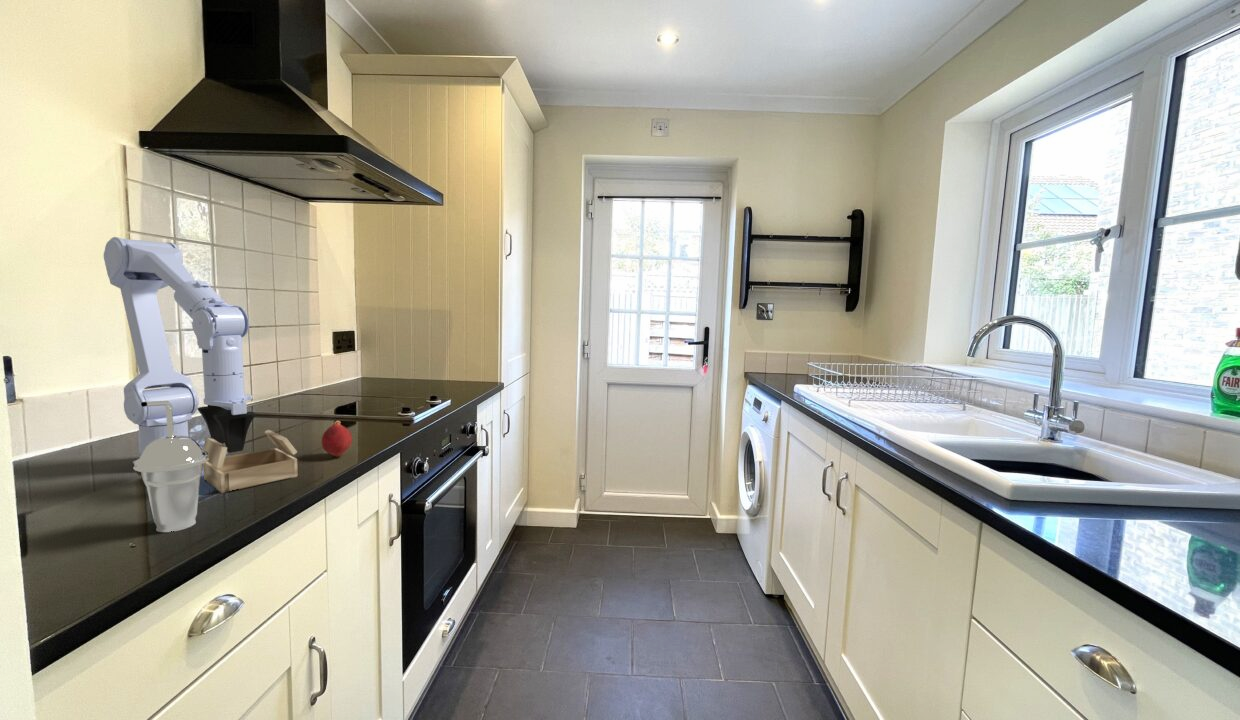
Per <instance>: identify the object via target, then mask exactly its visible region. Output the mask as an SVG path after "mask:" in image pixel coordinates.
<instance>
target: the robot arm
mask: <svg viewBox="0 0 1240 720" xmlns="http://www.w3.org/2000/svg"><path fill="white" fill-rule="evenodd" d="M103 260H104V265H105V268H106V274H107V277H108V280H109V284H110V285H112V286H114V287H115V288H118V289H119V290H120V294H121V297H122V302H123V307H124V311H125V316H126V320H127V324H128V328H129V333H130V337H131V341H132V345H133V350H134V353H135V354H134V355H135V359H136V365H137V367H138V372H139V374H137V376H135V377H133V379H132V380H130V381H129V382H128V383H126V385H125V386H124V387H123V397H124V398H123V399H124V400H123V410H124V413H125V415H126V418H127V419H128V420H129V421H130V422H132V423H133V424H134V425H138V431H137V440H138V441H137V443H138V453H139V454H138V455H139V458H138V459H140V457H141V455H142V453H143V451H144V449H145V448H146V447H147V446H148V445H149V444H150V443H151V442H153V441H154V440H156V439H159V438H161V437H164V436H168V435H167V418H166V407H165V405H163V406H147V407H143V406H141V403H142V402H146V401H169V402H170V403H171V405H172V413H173V430H174V435H182V436H187V437H189V422H188V420H192V416H193V415H195V414H196V412H197V411H198V412H199V414H200V415H201V416H202V418H203V420H204V421H205V423H206V426H207V429H208V433H209V436H210V437H211V438H212V439H214V440H216V441H218V442H219V443H221V444H224V446H226V447H227V451H226V452H227V453H230V454H231V453H236V452H237V453H238V452H243V450H244V448H245V447H244V446H245V444H246V438H247V434H248V431H249V428H250V425H251V423H252V422H253V419H255V416H256V412H254V411H248V410H247V401H248V400H249V401H250V400H253V395H252V394H249V393H248V394H247V393H246V394H245V377H244V357H243V339H242V338H244V337H246V336H247V334H248V333H249V327H250V321H249V317H248V313H247V312H246V310H244V308H243V307H242V306H240V305H233V304H229V303H227V302H226V301H225V300H224V299H223V298H222V297H221V296H220V295H219V294H218V293H217V292H216V291H215V290H214V289H213V288H212V287H211V286H210V284H209V283H208V282H207V281H202V280H196V279H195V278H194V276H192V274H191V273H190V272H189V270H188V269H187V268H186V266H185V265H184V257H183V252H182V250H181V249H180V248H179V247H178V245H176V244H175V243H174V242H159V241H150V240H149V241H148V240H140V239H139V240H137V239H129V238H122V237H116V236H113V237H111V238H110V239H109V240H108V241H107V242H106V244H105V246H104V251H103ZM167 287H170V288H171V289H172V290H173V291H174V293H173V299H174V301H175V302H176V304H178V305H179V307H180V308H181V309H182V310H183V311H184V312H185V313H186V314H187V315H188V316H189V317H190V318H191V319H192V321H191V327H192V330H193V332H194V335H195V337H196V342H197V343H196V344H197V346H198V349H201V354H202V355H201V359H202V373H203V374H202V376H203V390H204V392H203V393H204V398H203V405H206V406H199V404H200V403H199V402H200V400H199V396H198V393H197V392H196V390H195V388H194V386H193V383H192V381H191V378H190V377H188V376H187V375H184V374H182V373H180V372H178V371H176V370H175V369H174V366H173V361H172V357H171V353H170V347H169V344H168V340H167V339H168V338H167V334H166V330H165V326H164V321H163V317H162V313H161V308H160V306H159V300H158V295H157V293H158V292H159V290H161V289H164V288H167ZM189 438H190V437H189ZM135 461H136V460H133V461H132V464H133V465H134V463H135Z"/></svg>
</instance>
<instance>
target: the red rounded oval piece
mask: <svg viewBox="0 0 1240 720" xmlns="http://www.w3.org/2000/svg"><path fill="white" fill-rule="evenodd" d="M341 423H342V422H341V420H336V421H335V422H334V423H333V424H332V425H331V426H329V427H328V428H327V429H326V430H325V431H324V432H323V434H322V437H321V447H322V448H323V450H324V451H325V452H326V453H328V454H329V455H331V456H333V457H336V458H339V457H341V456H342V455H343V454H344V453H346V452H347V451H348V450H349V449H350V448H351V446H352V443H353V435H352V433H351V431H350V430H349V429H348V428H347V427H345V426H344V425H342V424H341Z"/></svg>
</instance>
